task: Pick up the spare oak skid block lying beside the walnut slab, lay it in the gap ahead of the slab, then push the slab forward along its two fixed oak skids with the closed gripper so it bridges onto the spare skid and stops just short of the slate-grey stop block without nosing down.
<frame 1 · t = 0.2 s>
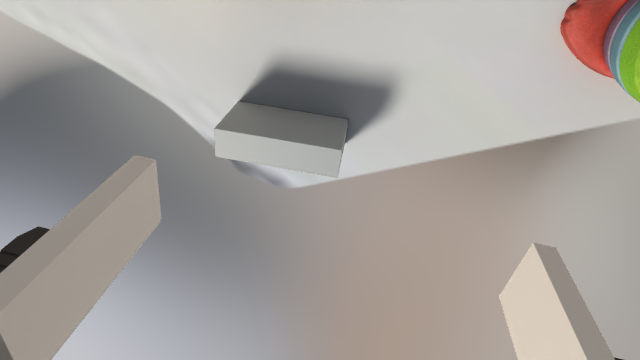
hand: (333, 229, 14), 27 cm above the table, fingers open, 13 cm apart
stop block: (292, 122, 42), on the table
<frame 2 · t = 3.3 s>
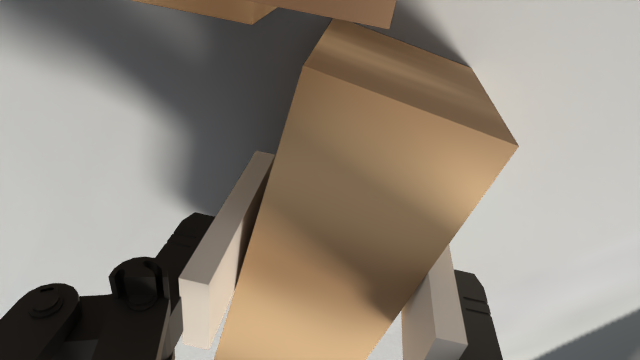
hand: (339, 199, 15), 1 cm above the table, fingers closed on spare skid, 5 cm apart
spare skid: (343, 179, 16), on the table, touching gripper
when the fingers open (2 cm above the table, at t = 8.4 s): spare skid drops 1 cm, on the table.
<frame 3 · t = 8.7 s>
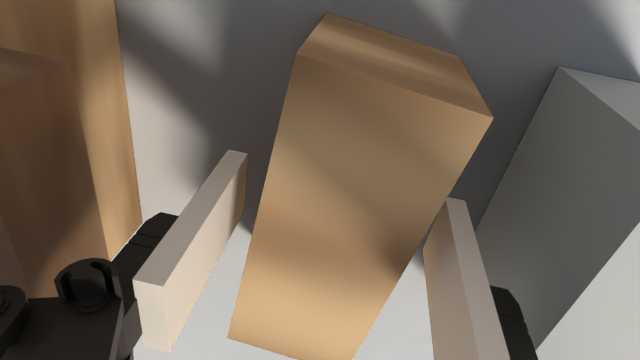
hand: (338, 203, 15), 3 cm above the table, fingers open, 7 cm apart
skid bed: (15, 97, 18), on the table
stop block: (524, 207, 17), on the table
spare skid: (343, 166, 17), on the table
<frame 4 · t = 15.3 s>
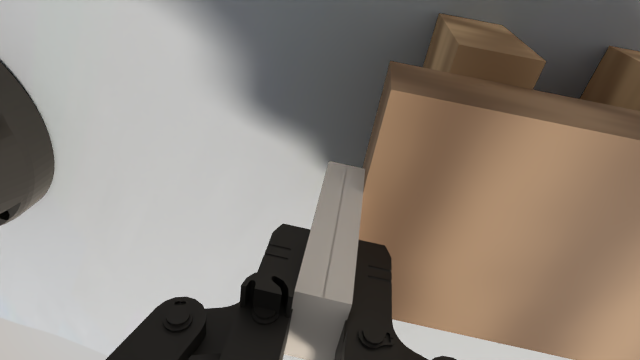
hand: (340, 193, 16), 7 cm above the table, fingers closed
slab: (545, 214, 16), point 6 cm above the table, touching gripper, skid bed
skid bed: (502, 146, 21), on the table
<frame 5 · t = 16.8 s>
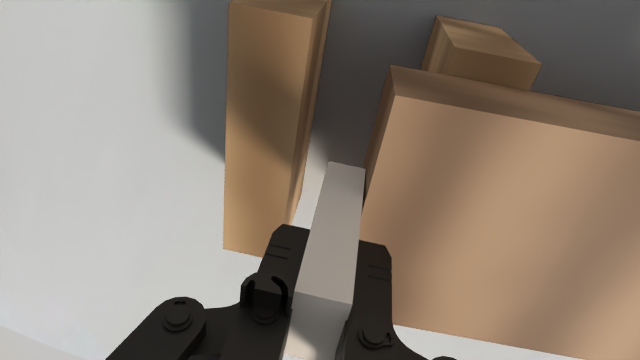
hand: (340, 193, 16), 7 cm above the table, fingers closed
slab: (544, 214, 16), point 6 cm above the table, touching gripper
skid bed: (358, 119, 22), on the table
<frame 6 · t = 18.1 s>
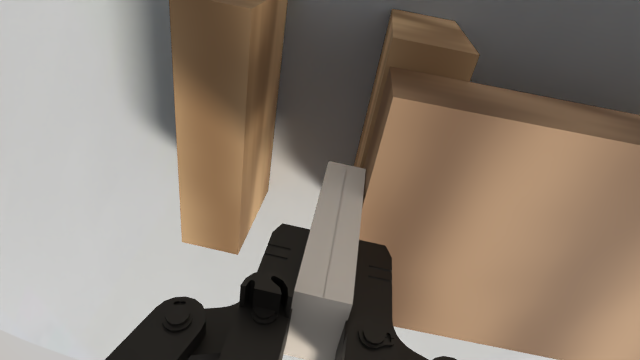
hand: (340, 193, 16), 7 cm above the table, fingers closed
slab: (545, 218, 16), point 6 cm above the table, touching gripper, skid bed
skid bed: (320, 113, 22), on the table
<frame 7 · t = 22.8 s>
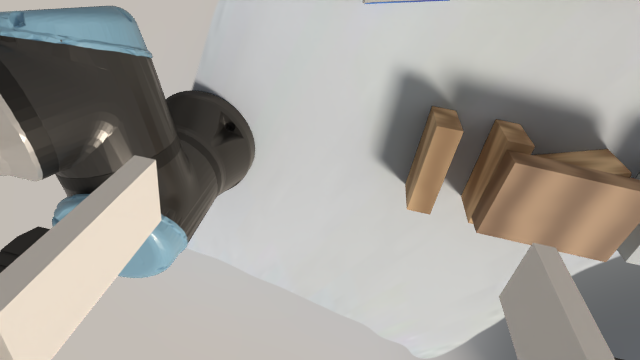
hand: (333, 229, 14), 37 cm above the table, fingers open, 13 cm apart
slab: (553, 200, 46), point 6 cm above the table, touching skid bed, spare skid
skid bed: (458, 156, 51), on the table
stop block: (637, 194, 51), on the table
spare skid: (551, 169, 51), on the table, touching slab
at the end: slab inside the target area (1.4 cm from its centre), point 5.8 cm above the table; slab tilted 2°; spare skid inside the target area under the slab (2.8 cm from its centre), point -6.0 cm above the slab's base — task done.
